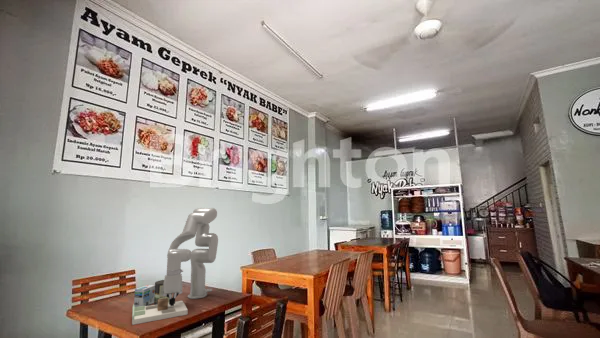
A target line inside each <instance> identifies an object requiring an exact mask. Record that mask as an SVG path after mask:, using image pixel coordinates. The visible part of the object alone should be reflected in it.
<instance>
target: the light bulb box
mask: <svg viewBox="0 0 600 338" xmlns="http://www.w3.org/2000/svg"><path fill="white" fill-rule="evenodd" d="M154 296H155V284H153V285H152V284H145V285H143V286H140V287H137V288H135V289H134V298H133V299H134V300H133V305H134V307H139V306H151V305H152V304H154Z"/></svg>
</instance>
